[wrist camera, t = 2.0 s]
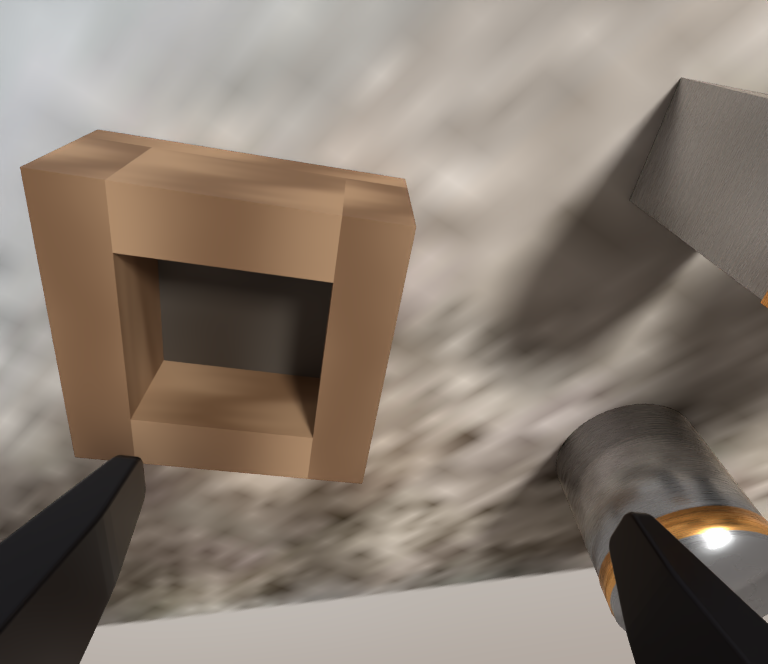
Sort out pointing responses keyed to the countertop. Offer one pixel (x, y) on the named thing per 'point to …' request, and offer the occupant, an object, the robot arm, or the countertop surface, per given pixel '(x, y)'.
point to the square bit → (713, 178)
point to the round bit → (662, 496)
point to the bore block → (218, 303)
